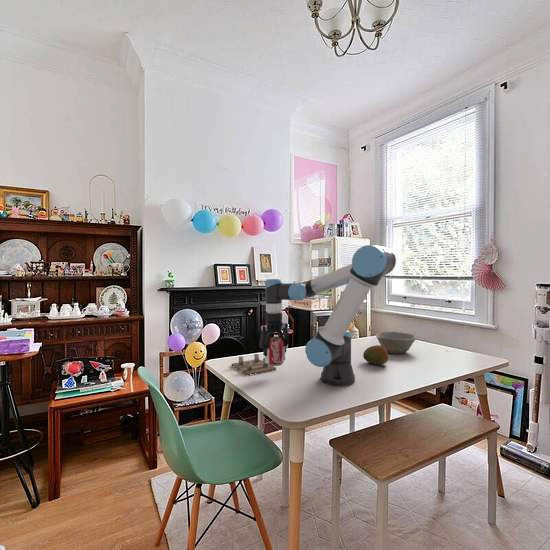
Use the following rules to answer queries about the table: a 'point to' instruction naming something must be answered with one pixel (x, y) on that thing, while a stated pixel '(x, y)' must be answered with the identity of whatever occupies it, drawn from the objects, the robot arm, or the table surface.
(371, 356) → the fruit
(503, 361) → the table surface
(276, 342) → the beverage can
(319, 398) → the table surface
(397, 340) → the ceramic bowl
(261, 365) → the peg board
